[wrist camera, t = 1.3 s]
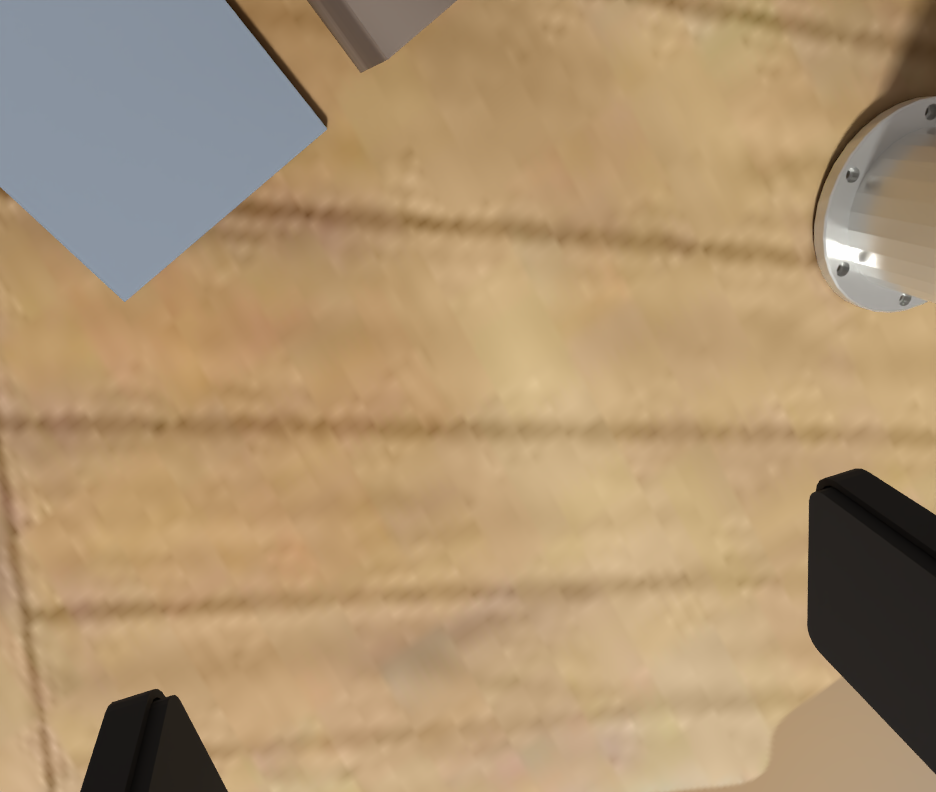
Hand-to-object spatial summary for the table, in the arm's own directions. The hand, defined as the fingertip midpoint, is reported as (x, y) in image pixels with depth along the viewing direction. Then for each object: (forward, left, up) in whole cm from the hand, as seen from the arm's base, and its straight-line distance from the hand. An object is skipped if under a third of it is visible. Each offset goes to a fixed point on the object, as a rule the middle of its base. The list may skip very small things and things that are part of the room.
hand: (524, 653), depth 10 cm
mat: (+4, -12, -29) cm, 32 cm away
